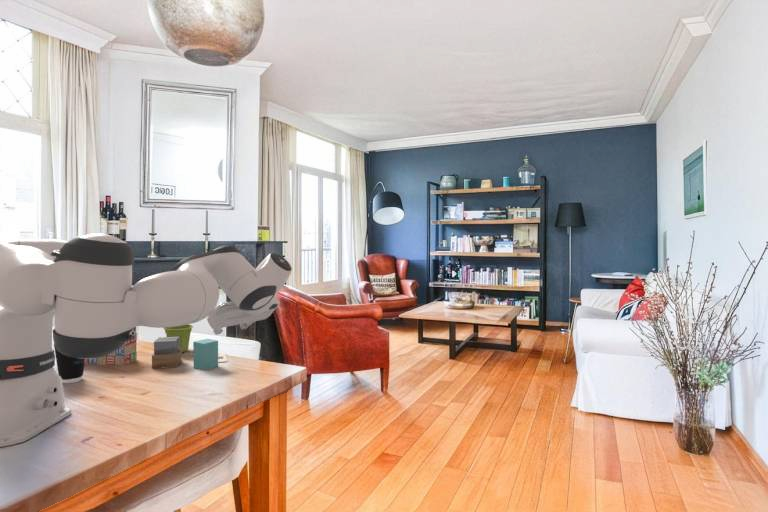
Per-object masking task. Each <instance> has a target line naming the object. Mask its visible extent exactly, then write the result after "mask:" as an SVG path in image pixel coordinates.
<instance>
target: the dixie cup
mask: <svg viewBox="0 0 768 512" xmlns="http://www.w3.org/2000/svg"><path fill="white" fill-rule="evenodd" d="M52 345H53V347H54V355H55V360H56V361H55V362H56V367H57V372H58V373H57V374H58V375H59V376H60V377H61V378H62V384H70V383H71V384H72V383H76V382H79V381H81V380H82V379H83V375H84V369H85V364H84V361H85V359H80V358H74V357H69V356H65V355H63V354H62V353H60V352H59V351H57V350H56V348H55V345H54V341H53V342H52Z"/></svg>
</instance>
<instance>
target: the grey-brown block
mask: <svg viewBox="0 0 768 512" xmlns="http://www.w3.org/2000/svg"><path fill="white" fill-rule="evenodd" d="M182 353H183V352H182V349H180V340H179V337H167V336H165V337H163V336H162V337H158V338H157V339H155V340H154V342H153V354H151V369H152V368H153V369H163V368H162V367H171V368H178V367H179V365H180V364H181V363H182V360H183V357H182V355H183V354H182ZM180 362H181V363H180ZM177 366H178V367H177Z"/></svg>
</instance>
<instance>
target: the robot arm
mask: <svg viewBox="0 0 768 512" xmlns="http://www.w3.org/2000/svg"><path fill="white" fill-rule="evenodd" d="M133 249H134V248H133V246H132V245H131V244H129V242H127V241H125V240H122V239H120V238H118V237H116V236H114V235H110V234H107V233H90V234H89V233H88V234H85V235H78V236H75V237H74V238H73V237H72V238H71V239H70V240H63V239H57V238H0V306H1V307H2V309H0V448H2V447H8V446H12V445H17V444H20V443H24V442H27V441H28V440H30V439H31V438H34V437H35V436H36V435H39V434H40V433H42V432H43V431H44V430H45V431H46V429H48V428H50V427H51V426H53V425H55V424H56V423H58V422H60V421H61V420H63V419H65V418H66V417H68V416H70V415H71V414H72V408H70V407H68V406H66V405H65V395H64V387H63V383H62V378H61V377H60V376H59V374H58V373H57V372H56V369H55V368H54V366H55V365H56V364H55V362H56V361H55V360H56V355H55V348H56V350H57V351H59V352H60V353H62V354H63V355H65V356H69V357H74V358H80V359H91V358H97V357H103V356H106V355H109V354H111V353H113V352H114V351H116V350H117V349H119V348H120V347H122V346H123V345H124V343H125V342H126V341H129V340H131V339H133V338H134V337H135V335H136V333H137V331H136V332H135V331H134V330H133V328H134V327H136V328H137V327H146V328H155V329H156V328H157V329H158V328H159V329H160V328H163V329H164V328H168V327H177V326H183V325H187V324H189V325H192V324H195V323H199V322H200V321H203V320H204V319H206V318H207V319H206V320H207V323H208V325H209V326H210V328H211V329H212V330H213V333H214V335H215V336H218V335H220V334H222V333H223V332H224V330H223V328H229V327H231V326H232V327H234V326H238V325H239V327H240V329H241V330H246V329H247V328H248V327H249V326H251V325H252V324H253V323H255V322H258V321H264V320H266V319H268V318H269V317H270V316H271V315H272V314H273V312H275V310H276V309H277V308H278V307H279V306H280V305H281V302H280V301H279V299H278V298H277V296H276V295H277V294H278V293H279V292H280V291H281V290H282V288H284V286H285V284H286V282H287V281H288V280H289V278H290V276H291V274H292V271H293V269H292V266H291V264H290V262H289V261H288V260H287V259H286V258H285V257H284V256H283V255H280V254H278V253H277V252H269V254H268V255H267V256H265V257H264V259H263V260H261V262H260V263H259V264H258V265H257V266H256V267H254V266H253V265H252V264H251V263H250V262H249V261H248V259H246V258H245V256H244V255H243V254H242V253H241V251H240V250H239V249H238V247H237V246H235V245H228V244H227V245H221V246H218V247H216V248H215V249H213V250H210V251H205V252H201V253H197V254H195V255H191V256H187V257H185V258H184V259H182V260H180V261H179V262H177V263H176V264H175V265H174V266H173V268H172V269H171V270H170V271H165V272H160V273H155V274H151V275H149V276H147V277H144V278H142V279H140V280H139V281H137V282H136V283H134V285H133V265H134V264H135V257H134V256H135V255H134V250H133ZM220 290H222V292H223V293H224V294H225V295H226V296H227V297H228V298H229V300H230V301H226V302H221V303H220V304H218V302H219V299H220V298H219V297H220ZM53 323H54V329H53ZM52 340H53V342H54V344H53V342H52ZM54 345H55V348H54V349H53V346H54Z"/></svg>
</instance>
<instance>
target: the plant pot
mask: <svg viewBox="0 0 768 512" xmlns="http://www.w3.org/2000/svg"><path fill="white" fill-rule="evenodd" d="M193 328H194V325H192V324H187V325H183V326H177V327H168V328H163V330H164V333H165V337H179V340H180V349H182V353H183V352H184V353H185V352H188V351H189V344H190V339H191V332H192V329H193Z"/></svg>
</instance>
